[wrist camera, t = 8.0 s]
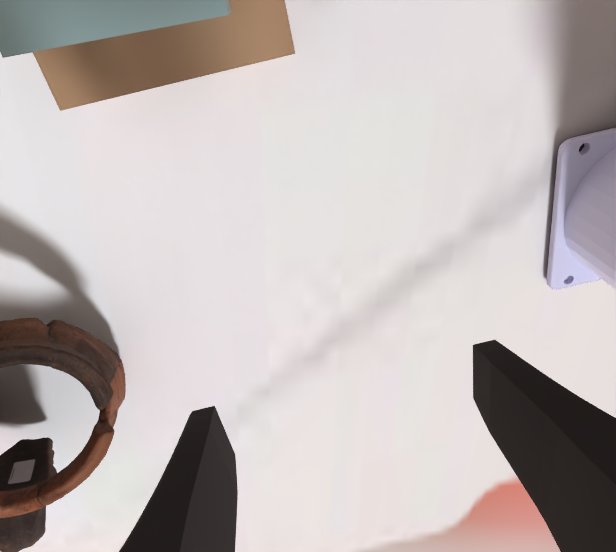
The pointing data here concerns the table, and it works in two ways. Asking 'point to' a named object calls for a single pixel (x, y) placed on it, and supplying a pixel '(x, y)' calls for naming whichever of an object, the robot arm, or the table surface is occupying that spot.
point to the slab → (166, 54)
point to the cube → (92, 20)
